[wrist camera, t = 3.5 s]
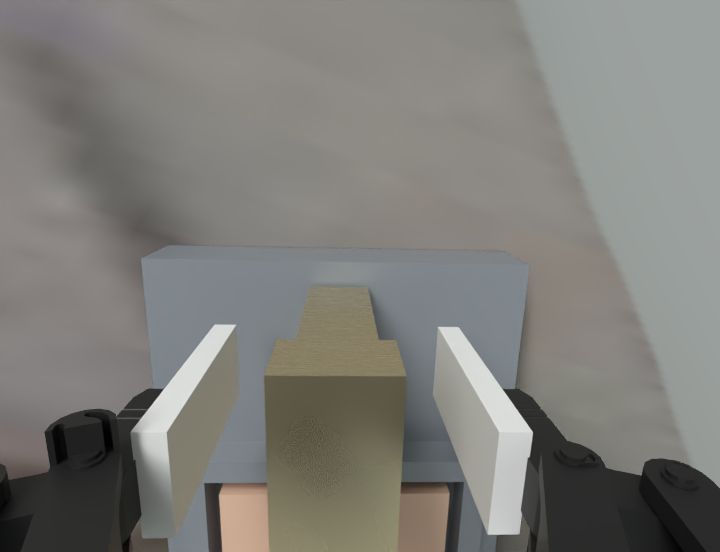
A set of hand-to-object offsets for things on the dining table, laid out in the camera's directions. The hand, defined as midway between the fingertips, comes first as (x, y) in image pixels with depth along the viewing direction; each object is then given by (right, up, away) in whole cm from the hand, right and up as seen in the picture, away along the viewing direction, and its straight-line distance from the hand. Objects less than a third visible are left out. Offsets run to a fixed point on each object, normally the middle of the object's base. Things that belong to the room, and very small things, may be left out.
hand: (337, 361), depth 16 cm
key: (0, -2, +4) cm, 4 cm away
